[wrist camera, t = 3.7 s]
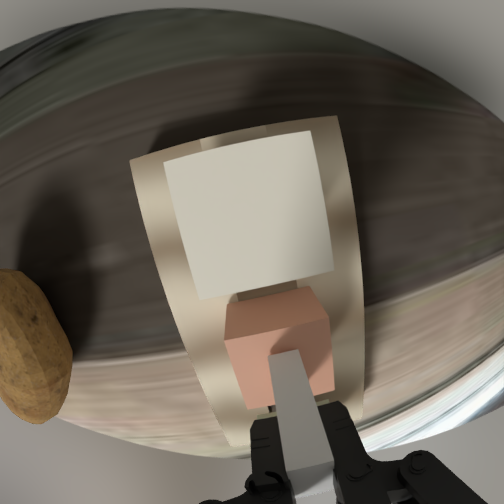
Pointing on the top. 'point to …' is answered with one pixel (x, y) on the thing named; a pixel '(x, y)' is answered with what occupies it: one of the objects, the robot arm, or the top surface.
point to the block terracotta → (278, 341)
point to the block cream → (251, 214)
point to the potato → (31, 350)
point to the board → (214, 309)
